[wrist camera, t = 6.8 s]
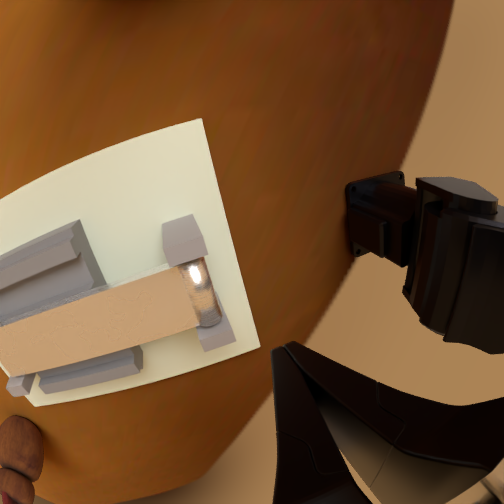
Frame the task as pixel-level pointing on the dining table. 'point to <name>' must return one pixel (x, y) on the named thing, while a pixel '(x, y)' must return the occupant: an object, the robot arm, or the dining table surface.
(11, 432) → the wooden figurine
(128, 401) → the dining table surface
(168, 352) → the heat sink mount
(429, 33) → the dining table surface
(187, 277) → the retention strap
